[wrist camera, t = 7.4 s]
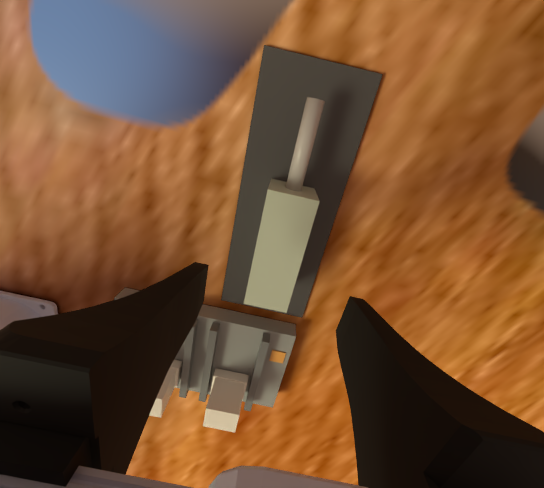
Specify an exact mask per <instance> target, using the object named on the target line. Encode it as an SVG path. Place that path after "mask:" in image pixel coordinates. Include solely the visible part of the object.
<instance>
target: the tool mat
mask: <svg viewBox="0 0 544 488" xmlns="http://www.w3.org/2000/svg"><path fill="white" fill-rule="evenodd" d="M382 75H383V74H379V73H375V72H371V71H367V70H363V69H359V68H355V67H351V66H347V65H343V64H339V63H335V62H331V61H327V60H323V59H318V58H314V57H310V56H306V55H302V54H298V53H294V52H290V51H286V50H282V49H278V48H274V47H270V46H266V45H264V49H263V55H262V61H261V67H260V73H259V79H258V85H257V90H256V96H255V102H254V108H253V114H252V120H251V126H250V132H249V138H248V144H247V150H246V156H245V162H244V168H243V174H242V180H241V186H240V192H239V198H238V204H237V210H236V215H235V221H234V227H233V233H232V239H231V245H230V251H229V257H228V263H227V269H226V275H225V281H224V287H223V293H222V299H221V300H223V301H228V302H233V303H237V304H242V305H246V306H251V307H256V306H252V305H247V304H244V299H245V295H246V290H247V285H248V280H249V276H250V271H251V266H252V261H253V257H254V252H255V247H256V242H257V238H258V233H259V228H260V224H261V219H262V214H263V209H264V205H265V200H266V195H267V190H268V187H269V184H270V182H271V179H276V180H280V181H284V182H287V179H288V175H289V171H290V166H291V162H292V158H293V154H294V150H295V145H296V141H297V137H298V133H299V129H300V124H301V120H302V116H303V112H304V108H305V103H306V99H307V97H310V98H316V99H319V100H323V101H325V103H324V106H323V110H322V114H321V118H320V121H319V125H318V129H317V133H316V137H315V140H314V144H313V148H312V152H311V156H310V159H309V163H308V167H307V171H306V175H305V178H304V182H303V186H306V187H310V188H314V189H315V191H316V194H317V196H318V198H319V201H320V202H319V205H318V209H317V212H316V215H315V219H314V222H313V226H312V229H311V232H310V236H309V239H308V242H307V246H306V249H305V252H304V256H303V259H302V263H301V266H300V269H299V273H298V276H297V279H296V283H295V286H294V289H293V293H292V296H291V299H290V303H289V306H288V310H287V313H284V312H279V311H275V310H270V309H266V308H261V307H256V308H260V309H265V310H270V311H274V312H279V313H283V314H288V315H293V316H297V317H303V314H304V311H305V307H306V304H307V301H308V298H309V295H310V292H311V289H312V286H313V283H314V280H315V277H316V274H317V271H318V268H319V265H320V262H321V259H322V256H323V253H324V250H325V247H326V244H327V241H328V238H329V235H330V232H331V229H332V226H333V223H334V220H335V217H336V214H337V211H338V208H339V205H340V202H341V199H342V196H343V193H344V189H345V186H346V183H347V180H348V177H349V174H350V171H351V168H352V165H353V162H354V159H355V156H356V153H357V150H358V147H359V144H360V141H361V138H362V135H363V132H364V129H365V126H366V123H367V120H368V117H369V114H370V111H371V108H372V105H373V102H374V99H375V96H376V93H377V90H378V87H379V84H380V81H381V78H382Z"/></svg>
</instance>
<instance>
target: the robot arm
mask: <svg viewBox="0 0 544 488" xmlns="http://www.w3.org/2000/svg"><path fill="white" fill-rule="evenodd" d="M207 272H208V265H206V264H201V263H196V262H195V263H193V264H191V265H189V266H187V267H186V268H184V269H182V270H180V271H179V272H177V273H175V274H173V275H172V276H170V277H168V278H166V279H164V280H162V281H160V282H158V283H156V284H154V285H152V286H150V287H148V288H146V289H143V290H141V291H138V292H136V293H133V294H131V295H128V296H125V297H123V298H120V299H117V300H113V301H110V302H107V303H103V304H100V305H96V306H93V307H89V308H85V309H81V310H76V311H71V312H67V313H62V314H58V311H57V306H56V304H55V303H54V302H51V301H47V300H42V299H37V298H33V297H28V296H23V295H19V294H14V293H9V292H4V291H0V488H192V487H186V486H181V485H176V484H171V483H166V482H161V481H155V480H150V479H145V478H140V477H135V476H130V475H125V474H126V472H127V469H128V466H129V464H130V461H131V459H132V456H133V454H134V451H135V449H136V446H137V444H138V441H139V439H140V436H141V434H142V431H143V429H144V426H145V424H146V421H147V419H148V417H149V414H150V412H151V409H152V407H153V405H154V402H155V400H156V398H157V395H158V393H159V391H160V388H161V386H162V384H163V382H164V379H165V377H166V375H167V372H168V370H169V368H170V366H171V364H172V363H173V361H174V359H175V357H176V355H177V354H178V352H179V350H180V348H181V346H182V345H183V343H184V341H185V339H186V338H187V336H188V334H189V332H190V330H191V329H192V327H193V325H194V323H195V321H196V319H197V317H198V314H199V312H200V309H201V307H202V304H203V301H204V294H205V286H206V279H207ZM336 337H337V348H338V354H339V359H340V363H341V368H342V372H343V376H344V381H345V385H346V389H347V394H348V398H349V403H350V408H351V415H352V423H353V431H354V440H355V450H356V459H357V471H358V484H359V486H358V485H353V484H348V483H343V482H338V481H333V480H328V479H323V478H318V477H313V476H308V475H303V474H297V473H292V472H287V471H282V470H277V469H272V468H267V467H258V466H239V467H235V468H232V469H229V470H226V471H223V472H222V473H220V474H219V475H218V476H217V477H216V478H215V479H214V481H213V482H212V483H211V484H210V486H209V488H544V432H542V431H541V430H539V429H537V428H535V427H534V426H532V425H530V424H528V423H526V422H524V421H523V420H521V419H519V418H517V417H515V416H513V415H512V414H510V413H508V412H506V411H504V410H502V409H501V408H499V407H497V406H496V405H494V404H492V403H491V402H489V401H487V400H486V399H484V398H482V397H481V396H479V395H478V394H476V393H474V392H473V391H471V390H470V389H468V388H467V387H465V386H464V385H462V384H461V383H459V382H458V381H456V380H455V379H453V378H452V377H451V376H449V375H448V374H446V373H445V372H444V371H442V370H441V369H440V368H438V367H437V366H436V365H434V364H433V363H432V362H430V361H429V360H428V359H427V358H425V357H424V356H423V355H422V354H420V353H419V352H418V351H417V350H416V349H415V348H413V347H412V346H411V345H410V344H409V343H408V342H407V341H406V340H405V339H403V338H402V337H401V336H400V335H399V334H398V333H397V332H396V331H395V330H394V329H393V328H392V327H391V326H390V325H389V324H388V323H387V322H386V321H385V320H384V319H383V318H382V317H381V316H380V315H379V314H378V313H377V312H376V311H375V310H374V309H373V308H372V307H371V306H370V305H369V304H368V303H367V302H366V301H365V300H363V299H360V298H355V297H351V296H350V297H349V300H348V302H347V305H346V307H345V310H344V312H343V315H342V317H341V320H340V322H339V324H338V327H337V329H336Z"/></svg>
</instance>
